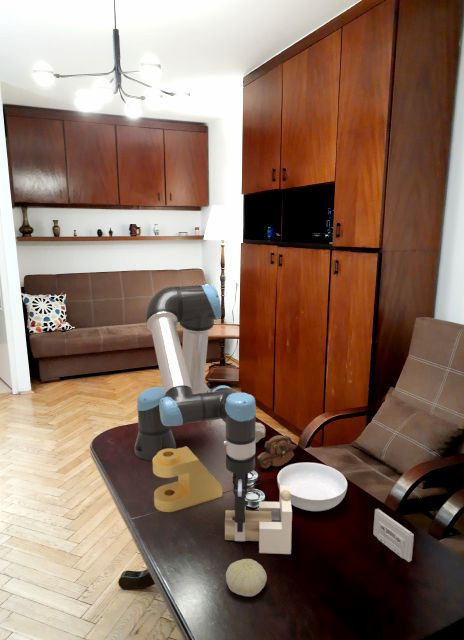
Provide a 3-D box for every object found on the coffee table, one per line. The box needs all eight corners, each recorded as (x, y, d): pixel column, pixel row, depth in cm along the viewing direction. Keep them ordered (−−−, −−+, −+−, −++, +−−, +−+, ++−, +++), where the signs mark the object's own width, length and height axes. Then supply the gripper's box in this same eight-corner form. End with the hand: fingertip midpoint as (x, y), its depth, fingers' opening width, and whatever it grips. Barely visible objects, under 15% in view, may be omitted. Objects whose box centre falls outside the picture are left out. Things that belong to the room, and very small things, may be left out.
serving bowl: (349, 487, 143) (350, 467, 141) (342, 528, 123) (343, 506, 122) (285, 475, 149) (285, 456, 148) (269, 512, 130) (269, 491, 129)
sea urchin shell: (220, 562, 107) (245, 541, 106) (242, 582, 108) (267, 561, 108) (223, 593, 98) (250, 570, 97) (247, 614, 99) (274, 592, 99)
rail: (226, 529, 122) (225, 508, 120) (278, 531, 121) (278, 510, 120) (224, 540, 118) (224, 518, 116) (279, 541, 117) (279, 520, 116)
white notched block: (258, 523, 125) (259, 478, 122) (287, 524, 125) (289, 478, 122) (259, 552, 114) (259, 503, 111) (291, 554, 113) (292, 504, 111)
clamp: (160, 515, 129) (158, 465, 125) (150, 498, 137) (148, 450, 133) (222, 496, 138) (222, 448, 134) (209, 481, 146) (209, 436, 142)
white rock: (259, 436, 177) (259, 413, 175) (271, 445, 170) (272, 420, 168) (233, 444, 171) (233, 419, 169) (245, 453, 164) (245, 428, 162)
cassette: (413, 560, 111) (415, 533, 110) (407, 563, 110) (410, 536, 109) (376, 532, 122) (378, 507, 120) (371, 534, 121) (373, 509, 119)
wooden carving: (265, 475, 149) (265, 447, 147) (256, 469, 153) (256, 442, 151) (299, 459, 159) (300, 433, 157) (289, 454, 163) (290, 429, 161)
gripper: (227, 437, 123) (228, 513, 128) (223, 470, 107) (224, 556, 111) (255, 438, 123) (254, 514, 128) (255, 471, 106) (254, 557, 111)
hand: (240, 533), depth 119 cm, fingers closed on rail, 4 cm apart
